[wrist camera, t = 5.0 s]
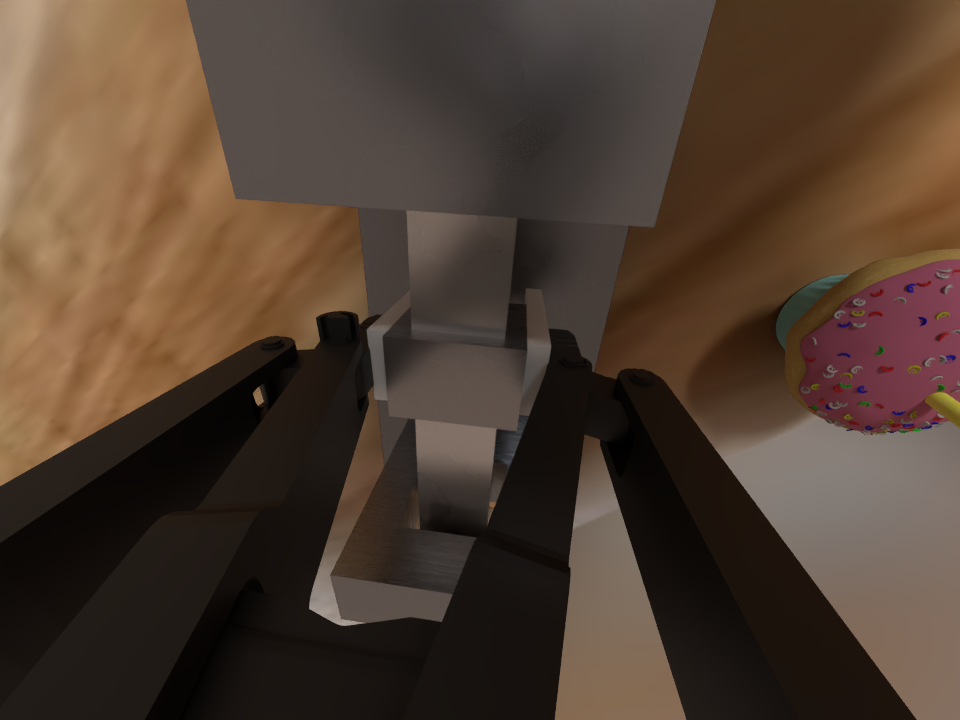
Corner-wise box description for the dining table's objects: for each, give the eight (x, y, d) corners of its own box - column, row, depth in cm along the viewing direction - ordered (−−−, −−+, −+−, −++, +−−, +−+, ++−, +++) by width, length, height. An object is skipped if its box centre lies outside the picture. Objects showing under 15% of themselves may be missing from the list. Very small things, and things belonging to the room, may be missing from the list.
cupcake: (854, 389, 21) (1196, 598, 10) (712, 370, 21) (897, 551, 11) (957, 244, 17) (1689, 341, 6) (780, 226, 17) (1177, 287, 7)
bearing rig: (360, 98, 17) (-27, -110, 5) (647, 110, 16) (1015, -117, 4) (392, 467, 29) (297, 668, 17) (560, 488, 27) (588, 721, 16)
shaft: (409, -132, 9) (320, -380, 5) (579, -134, 9) (626, -400, 5) (426, 502, 20) (403, 578, 16) (501, 512, 20) (495, 592, 16)
